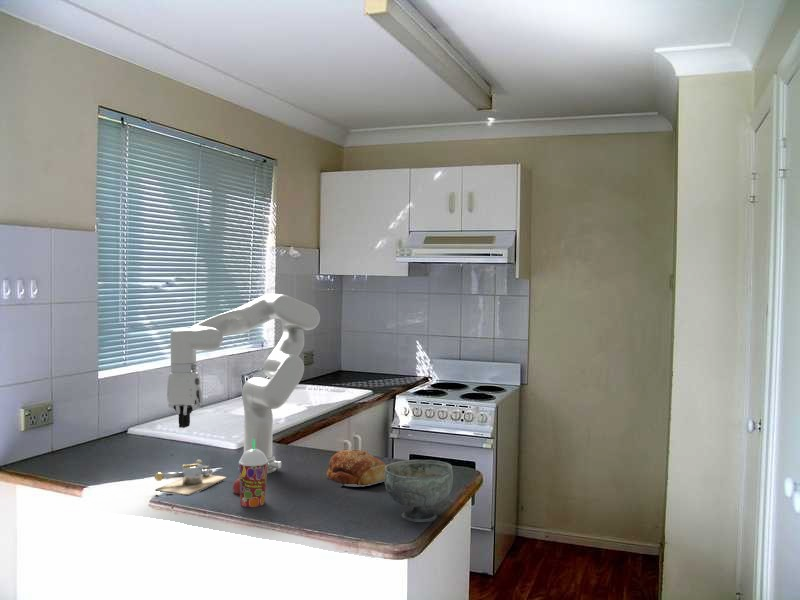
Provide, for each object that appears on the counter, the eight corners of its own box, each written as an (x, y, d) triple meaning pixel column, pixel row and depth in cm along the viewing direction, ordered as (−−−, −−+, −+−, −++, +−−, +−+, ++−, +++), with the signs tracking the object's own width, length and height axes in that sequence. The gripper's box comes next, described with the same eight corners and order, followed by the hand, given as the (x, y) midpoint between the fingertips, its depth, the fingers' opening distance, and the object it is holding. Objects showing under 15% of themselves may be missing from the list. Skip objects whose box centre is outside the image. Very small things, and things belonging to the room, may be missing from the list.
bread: (359, 470, 241) (359, 442, 240) (400, 480, 230) (401, 451, 230) (319, 483, 224) (319, 453, 224) (361, 494, 213) (361, 462, 213)
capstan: (211, 477, 219) (211, 460, 219) (214, 482, 214) (214, 464, 214) (153, 483, 212) (153, 465, 212) (155, 488, 207) (155, 470, 207)
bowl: (394, 505, 203) (395, 454, 203) (458, 512, 197) (459, 460, 197) (373, 526, 184) (374, 471, 184) (443, 535, 179) (444, 478, 178)
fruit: (243, 501, 203) (244, 475, 203) (230, 498, 206) (230, 471, 206) (258, 496, 208) (259, 470, 208) (245, 493, 211) (245, 467, 211)
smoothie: (240, 514, 192) (242, 443, 192) (235, 505, 200) (236, 437, 199) (270, 510, 195) (271, 441, 195) (263, 502, 203) (265, 435, 203)
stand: (227, 483, 222) (227, 461, 221) (188, 500, 203) (188, 477, 203) (196, 478, 226) (196, 457, 226) (155, 495, 207) (155, 473, 207)
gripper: (211, 367, 213) (211, 425, 214) (170, 365, 218) (171, 422, 218) (197, 371, 206) (197, 431, 207) (155, 369, 210) (156, 427, 211)
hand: (184, 426), depth 212 cm, fingers closed
